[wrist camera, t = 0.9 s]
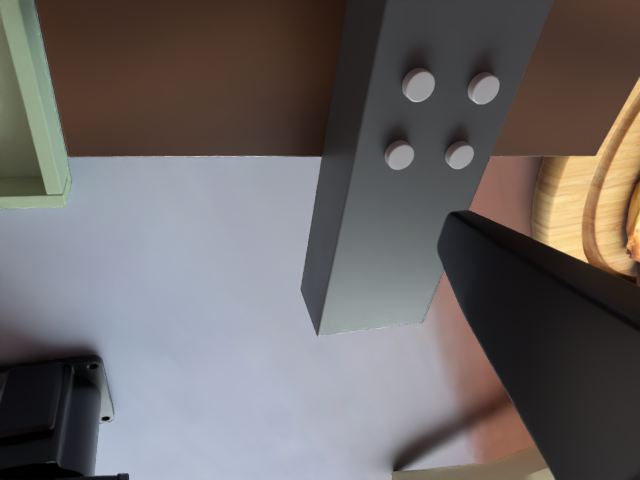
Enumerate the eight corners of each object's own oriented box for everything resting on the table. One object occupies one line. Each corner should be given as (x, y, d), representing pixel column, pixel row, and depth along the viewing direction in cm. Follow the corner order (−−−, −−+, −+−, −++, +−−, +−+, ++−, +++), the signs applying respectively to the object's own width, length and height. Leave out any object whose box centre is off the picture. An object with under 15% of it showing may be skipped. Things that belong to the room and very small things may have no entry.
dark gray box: (397, 280, 20) (427, 328, 18) (300, 289, 19) (318, 343, 17) (541, -153, 12) (630, -160, 9) (377, -196, 10) (438, -216, 8)
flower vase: (376, 396, 54) (689, 331, 49) (399, 463, 59) (684, 411, 54) (387, 487, 44) (788, 417, 38) (414, 559, 49) (770, 505, 43)
